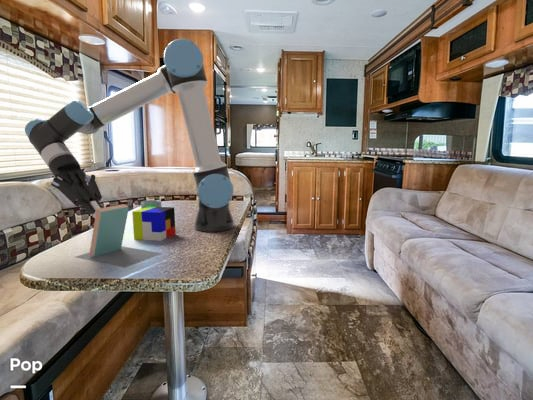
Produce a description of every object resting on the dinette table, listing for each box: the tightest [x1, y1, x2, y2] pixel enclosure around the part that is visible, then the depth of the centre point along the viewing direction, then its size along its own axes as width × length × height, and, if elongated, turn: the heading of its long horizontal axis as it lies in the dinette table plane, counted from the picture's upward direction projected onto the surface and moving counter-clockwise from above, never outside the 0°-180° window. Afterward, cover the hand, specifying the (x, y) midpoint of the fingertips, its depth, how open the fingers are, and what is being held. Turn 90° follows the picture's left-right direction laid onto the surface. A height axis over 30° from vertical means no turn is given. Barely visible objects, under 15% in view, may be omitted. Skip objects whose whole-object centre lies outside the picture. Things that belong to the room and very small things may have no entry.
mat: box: [74, 245, 163, 268], centre depth 94 cm, size 20×13×1 cm, turn 64°
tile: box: [89, 203, 130, 257], centre depth 95 cm, size 2×9×14 cm, turn 154°
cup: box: [140, 199, 163, 209], centre depth 132 cm, size 8×8×10 cm
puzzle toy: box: [132, 206, 177, 242], centre depth 114 cm, size 10×10×10 cm
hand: (103, 220), depth 95 cm, fingers closed
